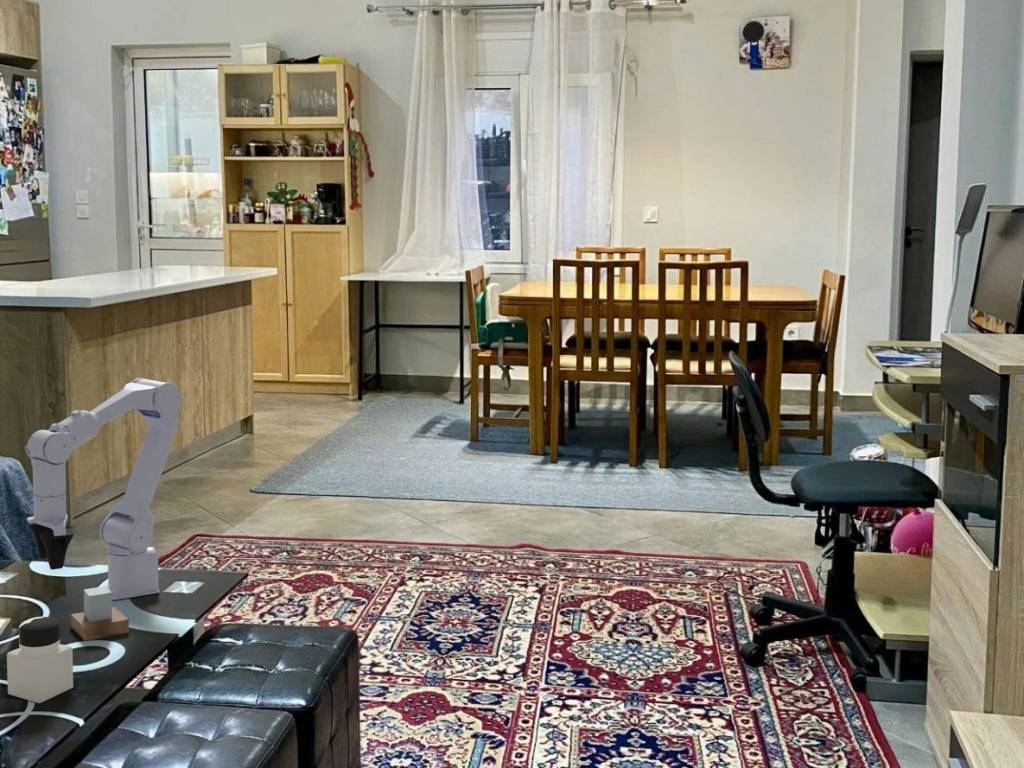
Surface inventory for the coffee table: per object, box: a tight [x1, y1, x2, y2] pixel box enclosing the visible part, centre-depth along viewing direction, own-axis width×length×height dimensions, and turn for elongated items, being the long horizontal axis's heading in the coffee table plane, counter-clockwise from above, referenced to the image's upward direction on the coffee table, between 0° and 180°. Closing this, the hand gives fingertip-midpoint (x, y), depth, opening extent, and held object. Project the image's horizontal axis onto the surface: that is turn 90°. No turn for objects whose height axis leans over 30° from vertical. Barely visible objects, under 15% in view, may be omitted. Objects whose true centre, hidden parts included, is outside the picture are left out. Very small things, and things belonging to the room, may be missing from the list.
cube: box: [83, 585, 113, 622], centre depth 207 cm, size 4×4×5 cm
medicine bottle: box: [6, 616, 74, 704], centre depth 180 cm, size 7×7×12 cm
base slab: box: [70, 606, 130, 642], centre depth 207 cm, size 8×8×3 cm
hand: (51, 562), depth 212 cm, fingers open, 7 cm apart
